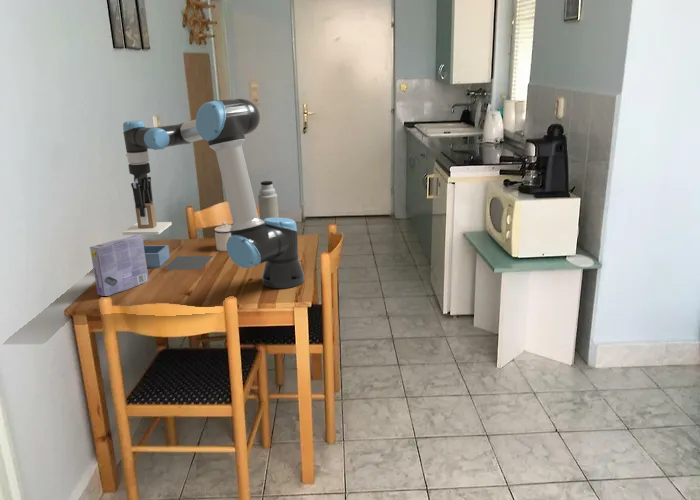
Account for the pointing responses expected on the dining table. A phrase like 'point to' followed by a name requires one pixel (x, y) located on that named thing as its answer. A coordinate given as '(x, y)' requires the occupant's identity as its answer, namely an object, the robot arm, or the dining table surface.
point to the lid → (151, 227)
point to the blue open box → (156, 255)
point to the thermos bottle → (268, 201)
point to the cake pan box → (119, 265)
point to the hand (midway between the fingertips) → (147, 222)
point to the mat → (188, 263)
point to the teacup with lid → (222, 236)
